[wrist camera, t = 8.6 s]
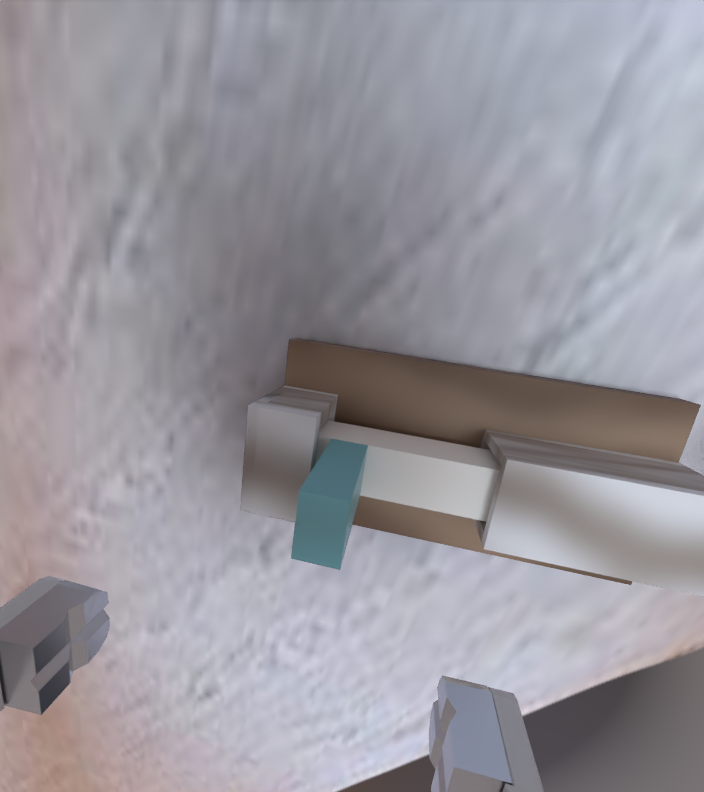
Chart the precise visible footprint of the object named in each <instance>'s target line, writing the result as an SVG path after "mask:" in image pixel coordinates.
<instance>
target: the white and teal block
mask: <svg viewBox="0 0 704 792" xmlns="http://www.w3.org/2000/svg"><path fill="white" fill-rule="evenodd" d="M500 468H501V465H500V463H499V462H498V460H497V459H496V457H495V456H494V454H493V452H492V451H491V450H487V449H482V448H476V447H471V446H465V445H460V444H454V443H449V442H444V441H438V440H433V439H427V438H422V437H416V436H411V435H405V434H400V433H395V432H389V431H384V430H378V429H373V428H367V427H362V426H356V425H351V424H346V423H340V422H335V421H329V420H327V421H326V423H325V424H324V425H323V426H322V428H321V429H320V430H319V436H318V444H317V452H316V460H315V466H314V468H313V469H312V471H311V472H310V474H309V476H308V477H307V479H306V480H305V482H304V483H303V485H302V487H301V488H300V490H299V495H298V504H297V512H296V521H295V529H294V538H293V547H292V555H291V558H292V559H296V560H300V561H305V562H309V563H313V564H318V565H322V566H326V567H330V568H335V569H339V570H340V568H341V564H342V561H343V557H344V553H345V549H346V546H347V542H348V538H349V534H350V531H351V527H352V523H353V520H354V516H355V512H356V508H357V505H358V501H359V497H360V496H365V497H370V498H374V499H379V500H384V501H389V502H394V503H399V504H403V505H408V506H413V507H418V508H423V509H427V510H432V511H437V512H442V513H447V514H452V515H456V516H461V517H466V518H471V519H476V520H481V521H485V522H487V518H488V514H489V511H490V507H491V503H492V499H493V495H494V491H495V488H496V484H497V480H498V476H499V472H500Z"/></svg>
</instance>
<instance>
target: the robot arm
mask: <svg viewBox="0 0 704 792" xmlns="http://www.w3.org/2000/svg"><path fill="white" fill-rule="evenodd" d="M108 603H109V602H108V594H107V592H105V591H102V590H98V589H95V588H91V587H88V586H84V585H81V584H78V583H74V582H71V581H67V580H63V579H60V578H56V577H52V576H47V577H44V578H41V579H39V580H38V581H36V582H35V583H33V584H32V585H31V586H29V587H28V588H27V589H25V590H24V591H22V592H21V593H20V594H18V595H17V596H16V597H14V598H13V599H11V600H10V601H9V602H7V603H6V604H5V605H3V606H2V607H0V711H1V710H3V709H4V708H5V707H4V705H5V706H9V707H12V708H16V709H20V710H24V711H28V712H32V713H36V714H39V715H42V714H43V712H44V711H45V710H46V709H47V708H48V707H49V706H50V705H51V704H52V703H53V701H54V700H55V699H56V698H57V697H58V696H59V695H60V694H61V693H62V692H63V690H64V689H65V688H66V687H67V686H68V685H69V684H70V682H71V678H72V674H73V671H74V670H76V669H78V668H80V667H82V666H84V665H85V664H87V663H89V662H90V660H91V659H92V658H93V657H94V656H95V655H96V653H97V652H98V651H99V650H100V648H101V646H102V644H103V643H104V641H105V639H106V637H107V634H108V631H109V627H110V622H109V617H108V615H107V614H106V612H105V611H104V608H105V606H106V605H107V604H108ZM437 688H438V700H437V701H435V702H434V703H433V707H432V711H431V717H430V727H429V752H430V760H431V762H432V764H433V766H434V768H435V769H436V772H435V775H434V779H433V782H432V786H431V790H432V792H544V791H543V787H542V784H541V780H540V777H539V773H538V770H537V767H536V763H535V760H534V756H533V753H532V750H531V746H530V742H529V739H528V736H527V732H526V729H525V725H524V722H523V719H522V715H521V711H520V708H519V705H518V701H517V699H516V697H515V696H514V694H513V693H510V692H506V691H502V690H498V689H494V688H490V687H487V686H484V685H480V684H476V683H472V682H467V681H463V680H459V679H455V678H450V677H446V676H442V677H441V678H440V680H439V684H438V687H437Z"/></svg>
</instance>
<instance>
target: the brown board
mask: <svg viewBox="0 0 704 792" xmlns="http://www.w3.org/2000/svg"><path fill="white" fill-rule="evenodd" d="M700 406H701V405H699V404H696V403H692V402H689V401H686V400H682V399H677V398H671V397H664V396H658V395H652V394H645V393H639V392H633V391H626V390H620V389H614V388H607V387H601V386H595V385H588V384H582V383H576V382H569V381H563V380H557V379H550V378H544V377H537V376H531V375H525V374H518V373H512V372H506V371H499V370H493V369H487V368H480V367H474V366H468V365H461V364H455V363H449V362H442V361H436V360H430V359H423V358H417V357H411V356H404V355H398V354H391V353H385V352H379V351H372V350H366V349H360V348H353V347H347V346H341V345H334V344H328V343H322V342H315V341H309V340H303V339H290V340H289V346H288V356H287V366H286V376H285V385H284V386H282V387H281V388H279V389H277V390H275V391H273V392H271V393H270V394H268V395H266V396H264V397H262V398H260V399H258V400H257V401H255V402H253V403H251V404H249V405H248V412H247V425H246V439H245V452H244V466H243V479H242V493H241V506H240V510H241V511H246V512H250V513H255V514H260V515H264V516H269V517H273V518H278V519H282V520H287V521H291V522H295V521H296V512H297V504H298V495H299V490H300V488H301V487H302V485H303V483H304V482H305V480H306V479H307V477H308V476H309V474H310V472H311V471H312V469H313V468H314V466H315V460H316V452H317V444H318V436H319V430H320V429H321V428H322V426H323V425H324V424H325V423H326V421H327V420H329V421H335V422H340V423H346V424H351V425H356V426H362V427H367V428H373V429H378V430H384V431H389V432H395V433H400V434H405V435H411V436H416V437H422V438H427V439H433V440H438V441H444V442H449V443H454V444H460V445H465V446H471V447H476V448H482V449H487V450H491V451H492V452H493V454H494V456H495V457H496V459H497V460H498V462H499V463H500V465H501V468H500V472H499V476H498V480H497V484H496V488H495V491H494V495H493V499H492V503H491V507H490V511H489V514H488V518H487V522H485V521H481V520H476V519H471V518H466V517H461V516H456V515H452V514H447V513H442V512H437V511H432V510H427V509H423V508H418V507H413V506H408V505H403V504H399V503H394V502H389V501H384V500H379V499H374V498H370V497H365V496H360V497H359V501H358V505H357V508H356V512H355V516H354V520H353V523H352V524H353V525H358V526H362V527H367V528H371V529H376V530H381V531H385V532H390V533H394V534H399V535H404V536H408V537H413V538H417V539H422V540H427V541H431V542H436V543H440V544H445V545H450V546H454V547H459V548H463V549H468V550H473V551H477V552H482V553H486V554H491V555H496V556H500V557H505V558H509V559H514V560H519V561H523V562H528V563H532V564H537V565H542V566H546V567H551V568H555V569H560V570H565V571H569V572H574V573H578V574H583V575H588V576H592V577H597V578H601V579H606V580H611V581H615V582H620V583H624V584H629V585H631V584H632V581H633V582H638V583H643V584H647V585H652V586H656V587H661V588H666V589H670V590H675V591H680V592H684V593H689V594H693V595H698V596H703V597H704V476H703V475H701V474H699V473H697V472H695V471H694V470H692V469H690V468H688V467H686V466H684V465H682V464H680V463H678V462H679V460H680V457H681V455H682V452H683V450H684V447H685V444H686V442H687V439H688V437H689V434H690V431H691V429H692V426H693V424H694V421H695V419H696V416H697V413H698V411H699V408H700Z"/></svg>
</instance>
